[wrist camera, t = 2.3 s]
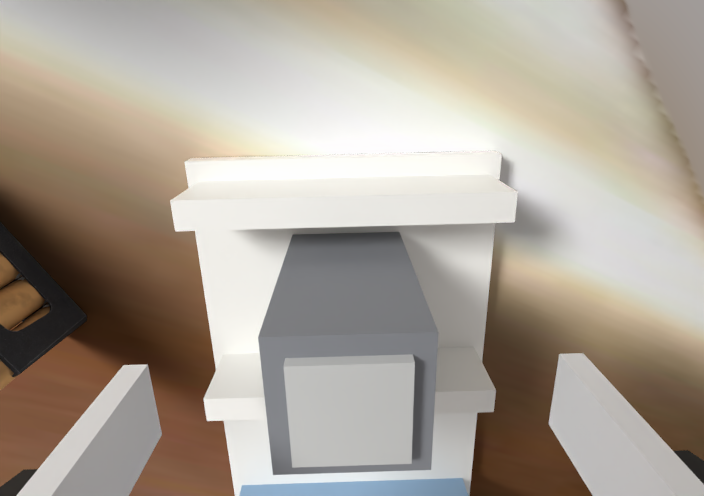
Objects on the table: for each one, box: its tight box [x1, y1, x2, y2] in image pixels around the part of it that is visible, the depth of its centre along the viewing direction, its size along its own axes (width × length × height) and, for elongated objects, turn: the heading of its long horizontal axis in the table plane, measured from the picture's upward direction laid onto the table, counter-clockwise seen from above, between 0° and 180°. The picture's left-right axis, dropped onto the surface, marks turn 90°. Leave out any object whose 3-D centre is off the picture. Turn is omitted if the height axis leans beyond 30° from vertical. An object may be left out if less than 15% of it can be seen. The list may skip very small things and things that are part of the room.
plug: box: [258, 232, 439, 475], centre depth 17 cm, size 5×5×9 cm
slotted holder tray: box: [170, 151, 518, 496], centre depth 23 cm, size 30×14×4 cm, turn 1°
